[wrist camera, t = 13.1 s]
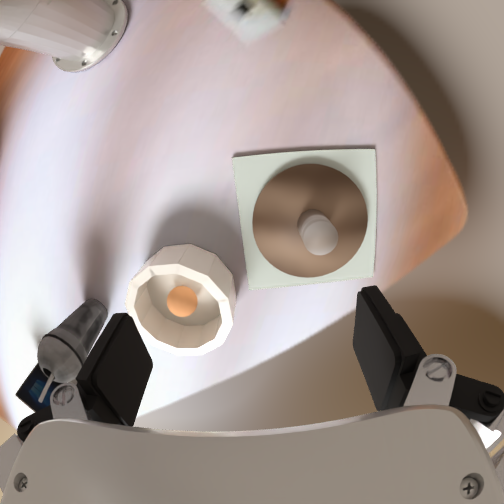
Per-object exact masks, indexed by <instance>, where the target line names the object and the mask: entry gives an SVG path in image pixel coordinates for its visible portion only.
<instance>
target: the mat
mask: <svg viewBox="0 0 504 504" xmlns="http://www.w3.org/2000/svg"><path fill="white" fill-rule="evenodd" d="M232 163H233V171H234V179H235V186H236V194H237V202H238V210H239V217H240V225H241V233H242V240H243V248H244V255H245V263H246V270H247V278H248V285H249V290H258V289H269V288H279V287H290V286H300V285H309V284H318V283H327V282H336V281H345V280H353V279H361V278H369V277H373V271H374V257H375V240H376V206H377V189H376V155H375V149H334V150H312V151H295V152H282V153H270V154H260V155H250V156H242V157H233V158H232ZM300 164H321V165H325V166H329V167H332V168H334V169H336V170H338V171H340V172H342V173H343V174H345V175H346V176H347V177H349V178H350V179H351V180H352V181H353V182H354V183H355V184H356V186H357V187H358V188H359V190H360V191H361V193H362V196H363V198H364V200H365V203H366V207H367V214H368V223H367V230H366V235H365V237H364V240H363V242H362V245H361V247H360V248H359V250H358V251H357V253H356V254H355V255H354V256H353V258H352V259H351V260H350V261H349V262H348V263H346V264H345V265H344V266H342V267H341V268H339V269H338V270H336V271H334V272H332V273H329V274H327V275H323V276H319V277H310V278H305V277H297V276H292V275H289V274H286V273H284V272H282V271H280V270H278V269H277V268H275V267H274V266H273V265H271V264H270V263H269V262H268V261H267V260H266V259H265V258H264V256H263V255H262V253H261V252H260V251H259V248H258V246H257V244H256V242H255V239H254V234H253V227H252V219H253V211H254V206H255V203H256V200H257V198H258V196H259V194H260V192H261V191H262V189H263V188H264V186H265V185H266V184H267V183H268V182H269V181H270V180H271V179H272V178H273V177H274V176H276V175H277V174H278V173H280V172H282V171H283V170H285V169H288V168H290V167H293V166H296V165H300Z"/></svg>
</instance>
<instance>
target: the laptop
mask: <svg viewBox="0 0 504 504" xmlns="http://www.w3.org/2000/svg"><path fill="white" fill-rule="evenodd" d="M48 379H49V378H48V377H47V376H46V375H45V374H44V373H43V372H42V370H41V368H40V366H39V362H38V363H37V365H36V366H35V367H34V369H33V370H32V371H31V373H30V374H29V376H28V377H27V378H26V380H25V381H24V383H23V384H22V386H21V387H20V388H19V390H18V391H17V393H16V396H17V397H18V398H19V399H20V400H21V401H22V402H24V403H25V404H26V405H27V406H28V407H29V408H31V409H32V410H33V411H34V412H37V411H39V410H41V409H43V408H45V407H47V406H49V405H51V404H50V396H51V393H52V392H53V390H54V389H55V388H56V387H57V386H59V385H61V384H63V383H59V382H55V381H53V380H52V382H51V384H50V386H49V388H48V390H47V392H46V394H45V397H44V399H43V401H42V403H41V402H39V401H38V400H39V398H40V396H41V394H42V391H43V389H44V387H45V385H46V383H47V381H48ZM66 383H69V382H66ZM70 383H73V384H75V385H76V384H77V381H76V379H73V380H72V381H70Z"/></svg>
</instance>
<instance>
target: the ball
mask: <svg viewBox="0 0 504 504" xmlns="http://www.w3.org/2000/svg"><path fill="white" fill-rule="evenodd" d="M197 304H198V300H197V296H196V294H195V292H194V291H193V290H192V289H190V288H189V287H186V286H178V287H175V288H173V289H172V290H171V291H170V292H169V294H168V297H167V306H168V308H169V310H170V311H171V312H172V313H173V314H174V315H176V316H179V317H186V316H189V315H191V314H192V313H193V312H194V311H195V310H196V308H197Z"/></svg>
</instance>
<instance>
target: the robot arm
mask: <svg viewBox="0 0 504 504" xmlns="http://www.w3.org/2000/svg"><path fill="white" fill-rule="evenodd" d="M127 18H128V13H127V8H126V5H125V4H124V2H123V1H122V0H0V45H3V46H8V47H13V48H19V49H24V50H28V51H33V52H37V53H41V54H46V55H50V56H52V58H53V61H54V63H55V65H56V66H57V67H58V68H59V69H61V70H63V71H67V72H80V71H84V70H86V69H89V68H91V67H93V66H94V65H96V64H98V63H99V62H100V61H101V60H103V59H104V58H105V57H106V56H107V55H108V54H109V53H110V52H111V51H112V50H113V48H114V47H115V46H116V45H117V43H118V42H119V40H120V38H121V37H122V35H123V33H124V30H125V27H126V24H127ZM353 348H354V351H355V354H356V356H357V359H358V361H359V363H360V366H361V369H362V372H363V374H364V377H365V379H366V382H367V385H368V387H369V390H370V392H371V395H372V398H373V401H374V404H375V407H376V409H377V410H378V412H374V413H370V414H365V415H360V416H356V417H351V418H346V419H340V420H335V421H329V422H323V423H318V424H311V425H304V426H296V427H289V428H278V429H267V430H253V431H231V432H230V431H228V432H199V431H173V430H160V429H149V428H139V427H132V426H133V425H134V422H135V419H136V416H137V413H138V409H139V406H140V403H141V400H142V397H143V394H144V391H145V388H146V385H147V382H148V379H149V377H150V374H151V371H152V368H153V362H152V359H151V357H150V355H149V353H148V351H147V349H146V347H145V344H144V342H143V340H142V338H141V336H140V333H139V331H138V329H137V327H136V324H135V322H134V320H133V318H132V317H131V316H129V314H128V313H115V314H114V315H113V316H112V318H111V319H110V321H109V322H108V324H107V326H106V327H105V329H104V330H103V332H102V334H101V335H100V337H99V339H98V340H97V342H96V343H95V345H94V347H93V349H92V350H91V352H90V354H89V355H88V357H87V359H86V360H85V362H84V364H83V366H82V367H81V369H80V371H79V373H78V375H77V376H76V378H75V379H76V381H77V384H76V385H75V384H73V383H70V382H69V383H63V384H61V385H59V386H57V387H56V388H55V389H54V390H53V392H52V393H51V396H50V404H51V405H49V406H47V407H45V408H43V409H41V410H39V411H37V412H35V413H33V414H32V415H30V416H28V417H26V418H24V419H23V420H22V421H21V422H20V424H19V426H18V429H17V434H18V435H15V434H14V435H12V436H11V437H10V438H9V439H8V440H7V441H6V442H5V443H4V444H2V445H1V446H0V488H1V490H2V492H3V496H2V500H1V503H0V504H504V393H503V392H502V390H501V389H500V388H498V387H497V386H494V385H491V384H488V383H485V382H481V381H478V380H475V379H472V378H468V377H465V376H462V375H459V374H456V366H455V364H454V363H453V361H452V360H451V359H449V358H448V357H446V356H444V355H440V354H432V355H429V356H427V355H426V353H425V352H424V351H423V349H422V347H421V345H420V344H419V342H418V341H417V339H416V338H415V336H414V335H413V333H412V332H411V330H410V329H409V327H408V325H407V324H406V322H405V321H404V320H403V318H402V317H401V315H400V314H398V313H395V312H394V310H393V309H392V307H391V306H390V304H389V303H388V302H387V300H386V299H385V297H384V296H383V294H382V293H381V291H380V290H379V289H378V287H377V286H375V285H374V286H369V287H363V288H362V290H361V291H360V292H358V294H357V305H356V316H355V327H354V336H353Z"/></svg>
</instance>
